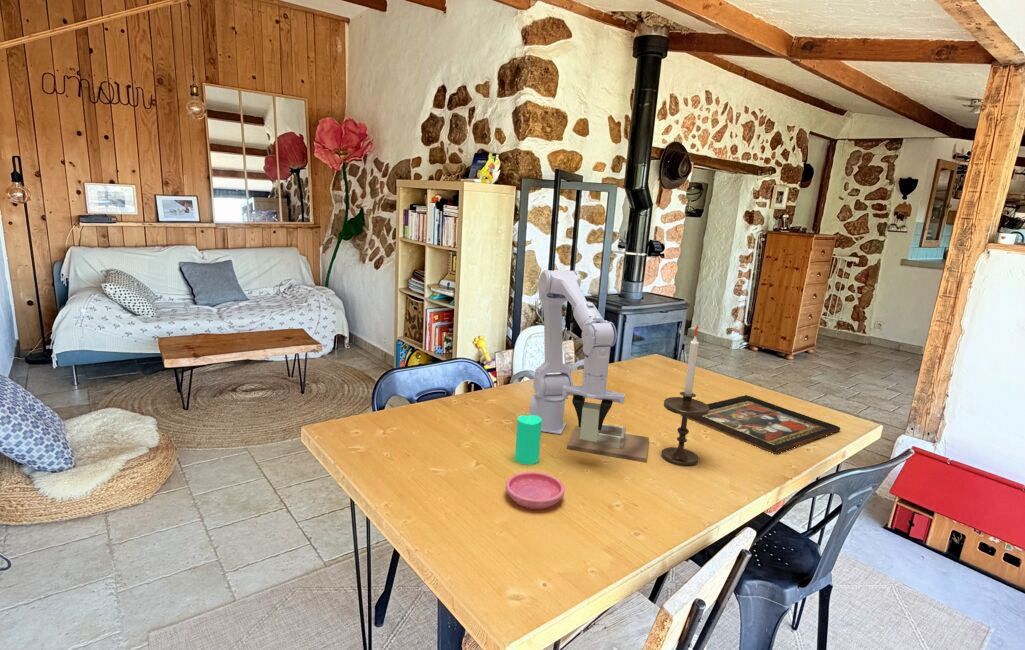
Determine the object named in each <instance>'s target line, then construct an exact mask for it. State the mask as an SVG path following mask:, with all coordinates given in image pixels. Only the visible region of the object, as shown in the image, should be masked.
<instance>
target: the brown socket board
mask: <svg viewBox="0 0 1025 650" xmlns="http://www.w3.org/2000/svg"><path fill="white" fill-rule="evenodd" d="M580 430H581V427H579V425H576V426H575V427H574V429H573V431H572V433H571V435H570V437H569V440H568V442H567V444H566V449H567V450H571V451H572V450H573V451H578V452H584V453H590V454H595V455H601V456H608V457H613V458H618V459H624V460H631V461H636V462H642V463H647V459H648V451H649V442H650V441H649V440H650V437H649V436H643V435H637V434H632V433H631V434H630V433H626V431H627V427H625V426H619V425H612V424H605V423H603V424H602V429H601V430H599V436H598V439H597V442H595V441H589V440H583V439H580Z"/></svg>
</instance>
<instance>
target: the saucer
mask: <svg viewBox="0 0 1025 650" xmlns="http://www.w3.org/2000/svg"><path fill="white" fill-rule="evenodd" d="M505 482H506V483H505V491H506V493H507V495H508V496H509V498H511V499H512V500H513V502H515V504H516V505H518V504H519V505H518V506H520V507H522V508H524V507H526V508H525V509H528V508H529V509H528V510H536V509H538V510H544V509H545V508H546V509H550V508H552V507H553V506H554V505H556V504H558V502H560V500H562V499H563V498H564V495H565V485H564V484H563V482H562V481H561V480H560V479H559V478H557V477H556V476H553V475H551V474H548V473H545V472H540V471H523V472H517V473H515V474H513V475H511V476H509V478H507V480H506V481H505Z"/></svg>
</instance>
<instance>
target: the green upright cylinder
mask: <svg viewBox="0 0 1025 650" xmlns="http://www.w3.org/2000/svg"><path fill="white" fill-rule="evenodd" d="M516 421H517V422H516V434H515V435H516V436H515V437H516V438H515V450H514V451H515V453H514V461H515V460H516V463H518V462H519V463H518V464H520V463H521V465H523V464H528V465H527V466H531V464H533V465H536V464H538V463H539V462H540V461H539V460H540V450H541V449H540V447H541V435H542V431H541V423H542V419H541V418H540V417H539V416H535V415H529V414H528V415H522V414H521V415H519V416H518V417H517V420H516ZM537 462H538V463H537ZM535 463H536V464H535Z"/></svg>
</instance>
